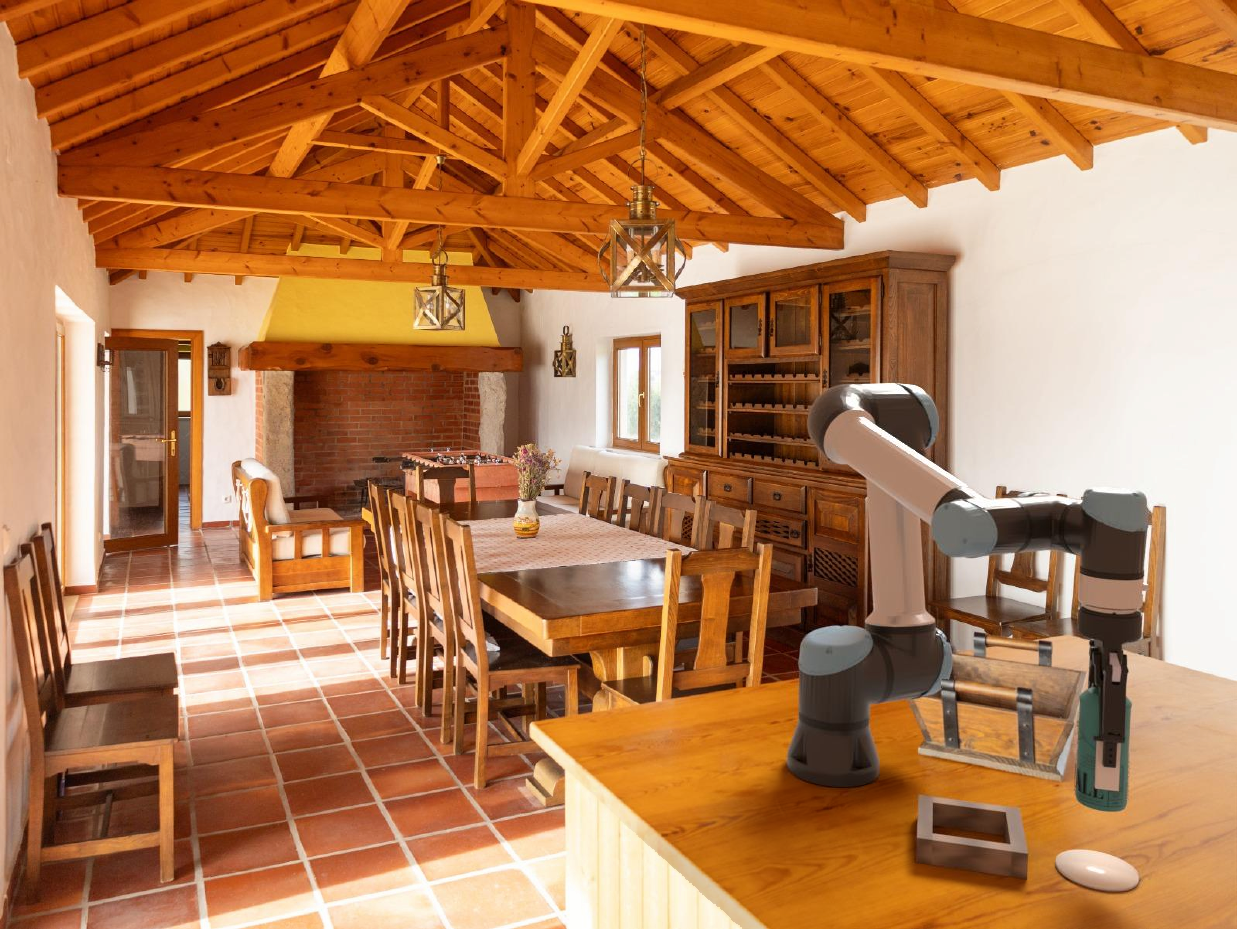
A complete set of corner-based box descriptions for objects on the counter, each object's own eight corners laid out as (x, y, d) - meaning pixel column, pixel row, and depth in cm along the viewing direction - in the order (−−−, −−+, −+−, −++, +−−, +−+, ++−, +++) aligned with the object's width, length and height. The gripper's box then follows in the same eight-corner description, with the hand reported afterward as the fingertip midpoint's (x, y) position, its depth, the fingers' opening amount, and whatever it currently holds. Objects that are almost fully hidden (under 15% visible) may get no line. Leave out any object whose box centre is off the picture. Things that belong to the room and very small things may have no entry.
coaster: (1060, 883, 127) (1060, 880, 127) (1051, 848, 136) (1051, 844, 136) (1145, 896, 124) (1145, 893, 123) (1130, 859, 133) (1131, 855, 133)
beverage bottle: (1130, 809, 130) (1137, 663, 128) (1124, 828, 124) (1132, 676, 122) (1077, 797, 133) (1083, 655, 132) (1068, 815, 128) (1075, 668, 126)
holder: (916, 862, 132) (916, 837, 132) (918, 817, 145) (918, 794, 145) (1027, 878, 128) (1028, 853, 128) (1018, 831, 141) (1019, 807, 141)
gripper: (1158, 627, 116) (1148, 813, 118) (1128, 592, 134) (1120, 753, 136) (1089, 622, 118) (1081, 804, 120) (1069, 589, 137) (1062, 747, 139)
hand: (1102, 777), depth 128 cm, fingers closed on beverage bottle, 6 cm apart
